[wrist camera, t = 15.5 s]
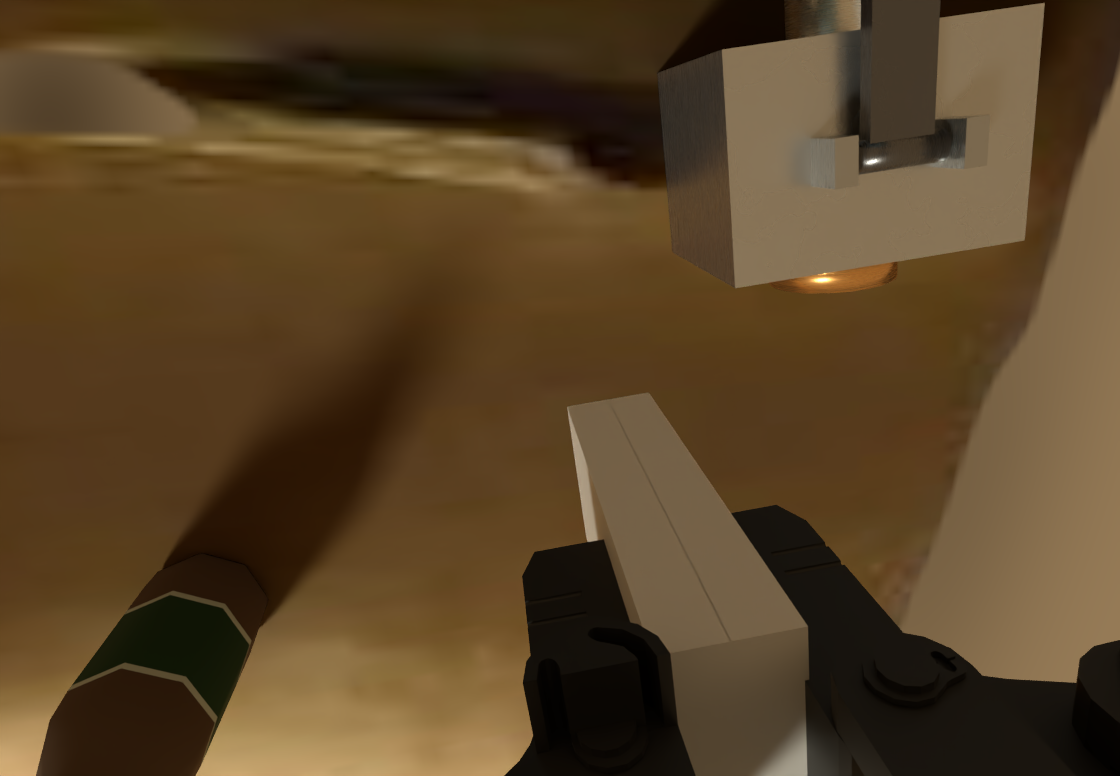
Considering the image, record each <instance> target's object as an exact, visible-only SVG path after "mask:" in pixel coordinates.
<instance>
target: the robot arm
mask: <svg viewBox="0 0 1120 776" xmlns="http://www.w3.org/2000/svg"><path fill="white" fill-rule="evenodd" d="M567 408H568V415H569V422H570V429H571V436H572V442H573V449H574V456H575V463H576V470H577V476H578V483H579V490H580V497H581V504H582V510H583V517H584V524H585V531H586V537H587V541H588V542H586V543H581V544H575V545H570V546H564V547H559V548H554V549H548V550H543V551H537V552H534V554H533V556H532V558H531V560H530V562H529V564H528V566H527V568H526V570H525V572H524V574H523V576H522V578H523V587H524V596H525V604H526V615H527V624H528V634H529V643H530V653H531V656H530V657H529V659H528V660H527V662H526V667H525V673H524V679H523V686H524V691H525V696H526V701H527V706H528V711H529V716H530V721H531V726H532V731H533V738H532V741H531V744H530V746H529V747H528V749H527V750H526V752H525V753H524V755H523V756H522V758H521V759H520V761H519V762H518V763H517V764H516V765H515V766H514V767H513V768H512V769H511V770H510V771H509V772H508V773H507V774H506V775H505V776H1120V640H1118V641H1114V642H1110V643H1105V644H1101V645H1097V646H1094V647H1093V648H1091V649H1090V650H1089V651H1088V652H1087V653H1086V654H1085V655H1084V656H1082V657H1081V658H1080V662H1079V669H1078V676H1077V683H1067V682H1049V681H1032V680H1031V681H1030V680H1014V679H1003V678H995V677H988V676H982V675H981V674H980V673H979V672H978V671H977V670H976V669H975V668H974V667H973V666H972V665H971V664H970V663H969V662H968V661H966V660H965V659H964V658H962V657H961V656H960V655H959V654H957V653H956V652H955V651H953V650H952V649H951V648H949V647H946V646H944V645H942V644H939V643H937V642H935V641H933V640H930V639H928V638H926V637H922V636H917V635H911V634H906V633H903V632H902V631H901V630H900V628H899V627H898V626H897V625H896V624H895V623H894V622H893V620H892V619H891V618H890V617H889V616H888V615H887V613H886V612H885V611H884V610H883V609H882V608H881V607H880V605H879V604H878V603H877V602H876V601H875V600H874V598H873V597H872V596H871V595H870V594H869V593H868V592H867V590H866V589H865V588H864V587H863V586H862V585H861V583H860V582H859V581H858V580H857V579H856V578H855V576H854V575H853V574H852V573H851V572H850V571H849V570H848V568H847V567H846V566H845V565H841V561H840V559H839V558H838V557H837V556H836V555H835V553H834V552H833V551H832V550H831V549H830V548H829V546H828V547H826V546H825V542H824V541H823V540H822V538H821V537H820V536H819V535H818V534H817V533H816V531H815V530H814V529H813V528H812V527H811V526H810V525H809V523H808V522H807V521H806V520H804V519H802V518H800V517H798V516H796V515H795V514H793V513H791V512H789V511H787V510H785V509H783V508H781V507H779V506H777V505H773V506H768V507H762V508H757V509H751V510H746V511H741V512H735V513H730V511H729V510H728V508H727V507H726V505H725V504H724V502H723V501H722V499H721V498H720V497H719V495H718V494H717V492H716V491H715V489H714V488H713V486H712V485H711V483H710V482H709V480H708V479H707V477H706V476H705V475H704V473H703V472H702V470H701V469H700V467H699V466H698V464H697V463H696V461H695V460H694V458H693V457H692V455H691V454H690V453H689V451H688V450H687V448H686V447H685V445H684V444H683V442H682V441H681V439H680V438H679V436H678V435H677V433H676V432H675V430H674V429H673V428H672V426H671V425H670V423H669V422H668V420H667V419H666V417H665V416H664V414H663V413H662V411H661V410H660V408H659V407H658V406H657V404H656V403H655V401H654V400H653V398H652V397H651V395H650V394H649V393H644V394H638V395H632V396H626V397H620V398H615V399H609V400H603V401H597V402H591V403H586V404H580V405H574V406H568V407H567Z"/></svg>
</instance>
